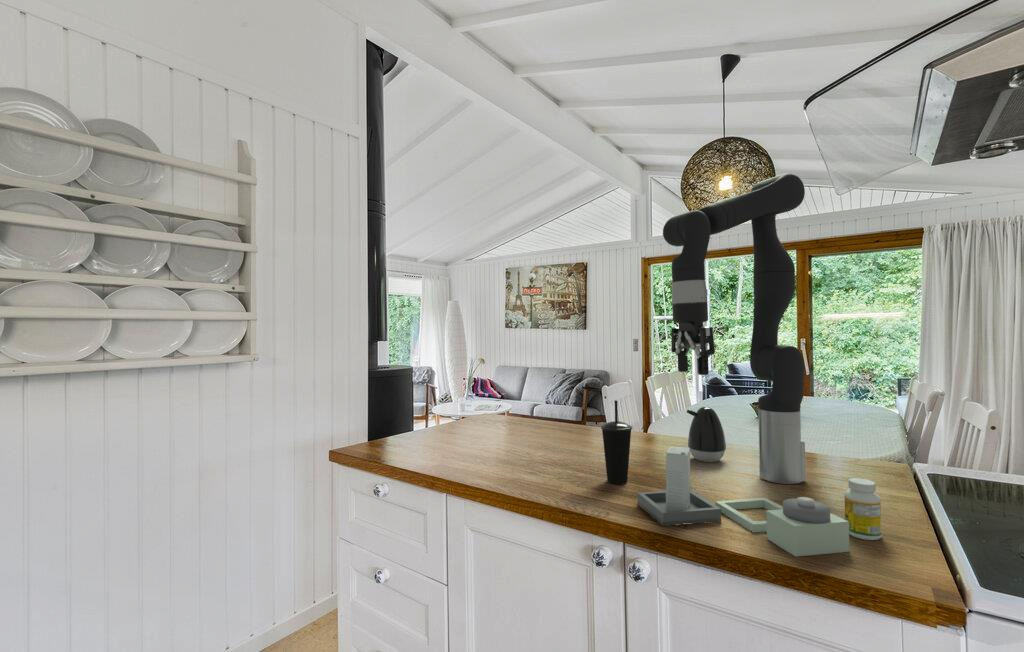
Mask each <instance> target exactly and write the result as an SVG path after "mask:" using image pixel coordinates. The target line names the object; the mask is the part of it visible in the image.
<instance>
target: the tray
mask: <svg viewBox="0 0 1024 652" xmlns="http://www.w3.org/2000/svg"><path fill="white" fill-rule="evenodd" d="M637 505H638V506H639V507H640V508H641V507H642V508H643V511H645V513H647V512H648V513H649V514H650V515H649V514H648V513H647V514H648V515H649V516H650V517H651V518H653V519H654V520H655V519H656V520H657V523H659V524H660V525H661V524H662V525H663V526H662V525H661V526H662V527H669V526H668V525H675V526H677V525H676V524H683V523H700V524H709V523H708V522H713V523H720V522H721V523H722V512H721V509H720V508H719V507H717V506H716V505H715V504H714V503H712V502H711V501H709V500H708V499H706V498H705V497H703V496H701V495H699V494H698V493H696V492H695V491H693V490H691V489H690V506H689V509H686V510H673V511H666V490H661V491H660V490H659V491H646V492H645V491H642V492H637ZM642 508H641V509H642ZM705 522H706V523H705Z"/></svg>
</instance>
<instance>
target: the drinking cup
mask: <svg viewBox="0 0 1024 652" xmlns="http://www.w3.org/2000/svg"><path fill="white" fill-rule="evenodd" d="M618 405H619V404H618V400H614V421H608V422H606V423H605V424H601V425H600V430H601V431H602V442H603V450H604V451H603V453H604V461H605V470H606V479H607V482H608V483H609V484H612V485H625V484H627V483H628V478H629V477H628V475H629V463H630V462H629V461H630V451H631V449H630V448H631V438H632V436H631V435H632V430H633V426H632V425H630V424H628V423H626V422H623V421H619V420H618V418H619V415H618V413H619V411H618V409H619V408H618Z"/></svg>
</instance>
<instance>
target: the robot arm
mask: <svg viewBox="0 0 1024 652" xmlns="http://www.w3.org/2000/svg"><path fill="white" fill-rule="evenodd" d="M801 179H802V178H800V177H799V176H797V174H796V175H795V174H793V173H782V174H778V175H775V176H773V177H771V178H767V179H763V180H761V181H759V182H757V183H755V184H754V185H753V186H752V188H751V190H750V191H749V192H746V193H742V194H737V195H735V196H731V197H727V198H723V199H721V200H718V201H715V202H712V203H709V204H707V205H705V206H702V207H701V208H699V209H696V210H691V211H690V210H689V211H687V212H683V213H680V214H678V215H674V216H673V217H671V218H669V219H668V220H667V221H666V222H665V224H664V226H663V228H662V237H663V238H664V240H665V242H666V243H667V244H669V245H670V246H673V247H682V250H681V253H680V254H678V255H677V256H675V257H674V258H673V259H672V260H671V281H672V283H671V284H672V286H671V308H672V309H671V310H672V312H671V313H672V322H673V323H674V324H678V326H676V327H671V330H670V336H671V338H670V340H671V342H670V343H671V347H670V348H671V352H672V353H675V356H677V371H678V372H679V373H683V372H684V373H687V372H688V371H689V360H688V358H689V355H688V353H689V350H690V349H691V350H693V351H694V353H695V355H696V357H697V358H696V365H697V366H696V368H697V375H699V376H707V375H709V373H710V372H709V371H710V370H709V358H710V356H712V355H715V339H714V328H713V326H704V322H706V323H707V322H708V321H709V311H708V310H709V309H708V290H707V284H706V270H705V262H706V261H705V260H706V256H707V254H708V248H709V243H710V239H711V235H716V234H717V235H718V234H720V233H722V232H725V231H728V230H730V229H733V228H735V227H737V226H739V225H742V224H744V223H746V222H749V221H751V230H752V242H753V244H752V245H753V278H752V279H753V287H752V288H753V319H752V320H753V323H752V334H751V343H750V354H749V364H750V370H751V372H752V374H753V376H754V377H755V378H757V379H758V380H761V381H764V382H765V381H766V382H772V384H771V385H772V386H771V390H770V392H768V393H767V394H764V395H762V396H759V397H758V400H757V408H758V409H757V410H758V411H757V412H758V413H757V415H758V416H757V417H758V459H759V461H758V462H759V465H758V466H759V467H758V469H759V471H758V472H759V478H760V479H762V478H763V479H762V480H764V479H765V480H764V481H766V480H767V481H768V482H770V483H773V484H774V483H776V484H784V485H797V484H800V483H802V482H806V477H807V475H806V442H805V441H804V440H802V431H801V430H802V428H801V427H802V425H801V423H802V422H801V420H802V419H801V417H802V416H801V404H802V402H803V399H804V392H805V391H804V389H805V361H804V356H803V354H802V352H801V350H799V348H797V347H795V346H794V345H788V344H787V345H786V344H778V343H779V341H778V338H779V335H778V334H779V327H780V322H781V320H782V319H783V316H784V314H785V313H786V311H787V309H788V308H789V305H790V304H791V301H792V300H793V298H794V295H795V291H796V269H795V268H796V267H795V264H794V263H795V262H794V260H793V259H792V257H791V255H790V254H789V253H788V251H787V250H786V248H785V246H784V245H783V244H782V242H781V241H780V238H779V237H778V233H777V224H776V223H777V222H776V221H777V220H776V219H777V218H776V216H777V215H780V214H783V213H787V212H790V211H793V210H795V209H796V208H798V207H800V205H801V204H802V202H803V201H804V198H805V196H806V188H805V185H804V183H803V181H802V180H801Z"/></svg>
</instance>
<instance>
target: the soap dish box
mask: <svg viewBox="0 0 1024 652" xmlns="http://www.w3.org/2000/svg"><path fill="white" fill-rule="evenodd" d="M714 505H716V506H717V507H719V508H720V509H721V514H723V515H725V516H726V517H728V518H730V519H731V520H732V521H734V522H736V523H737V524H739V525H740V524H741V525H740V526H742V527H743V528H745V529H747V530H748V529H749V530H748V531H750V532H751V531H752V532H751V533H754V532H755V533H765V532H766V539H767V540H768V541H770V542H771V543H773V544H774V545H776V546H778V547H779V548H781V549H782V550H784V551H786V552H787V553H789V554H790V555H792V556H794V557H796V558H797V557H804V556H805V557H806V556H816V555H817V556H818V555H827V554H839V553H848V552H850V534H849V522H848V521H846V520H845V518H841V517H839V516H838V515H835V514H833V513H832V512H831V507H829V506H828V505H827V504H824V503H823V502H819V501H817V500H816V501H815V499H813V498H811V497H806V496H799V497H797V498H786V499H783V501H782V505H780V504H778V503H776V502H775V501H772V500H770V499H768V498H767V497H756V498H743V499H729V500H728V499H727V500H716V501H715V504H714ZM746 508H747V509H756V508H757V509H758V508H764V509H766V510H765V511H766V513H765V515H766V520H756V521H755V520H754V519H751V518H750V517H748V516H746V515H744V514H743V513H741V512H740V511H738V510H742V509H743V510H745V509H746ZM747 509H746V510H747Z"/></svg>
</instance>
